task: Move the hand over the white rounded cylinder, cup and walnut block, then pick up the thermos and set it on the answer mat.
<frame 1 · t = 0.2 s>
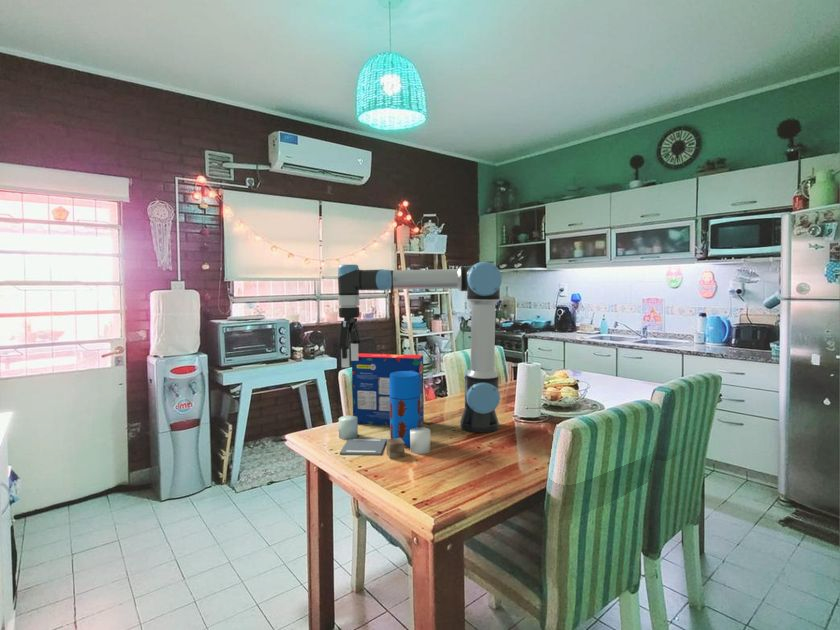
hand: (350, 363, 169), 28 cm above the table, fingers open, 13 cm apart
answer mat: (364, 447, 160), on the table
walnut block: (395, 455, 153), on the table
thermos: (405, 442, 165), on the table
white rounded cylinder a: (420, 450, 157), on the table
pasta box: (388, 423, 188), on the table
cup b: (348, 436, 172), on the table
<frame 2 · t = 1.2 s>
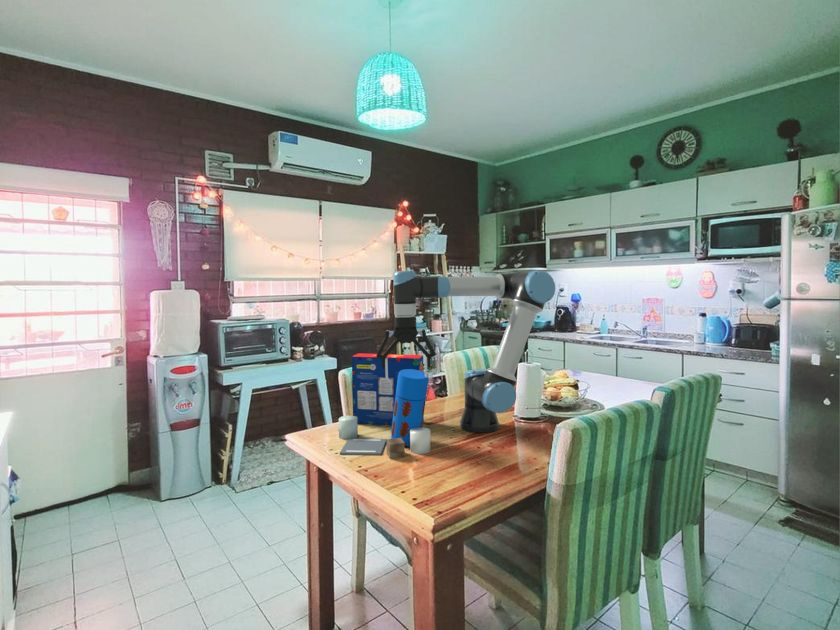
hand: (406, 377, 158), 25 cm above the table, fingers open, 13 cm apart
thermos: (405, 439, 165), point 1 cm above the table, touching white rounded cylinder a, gripper
white rounded cylinder a: (420, 450, 157), on the table, touching thermos
everything else where it was.
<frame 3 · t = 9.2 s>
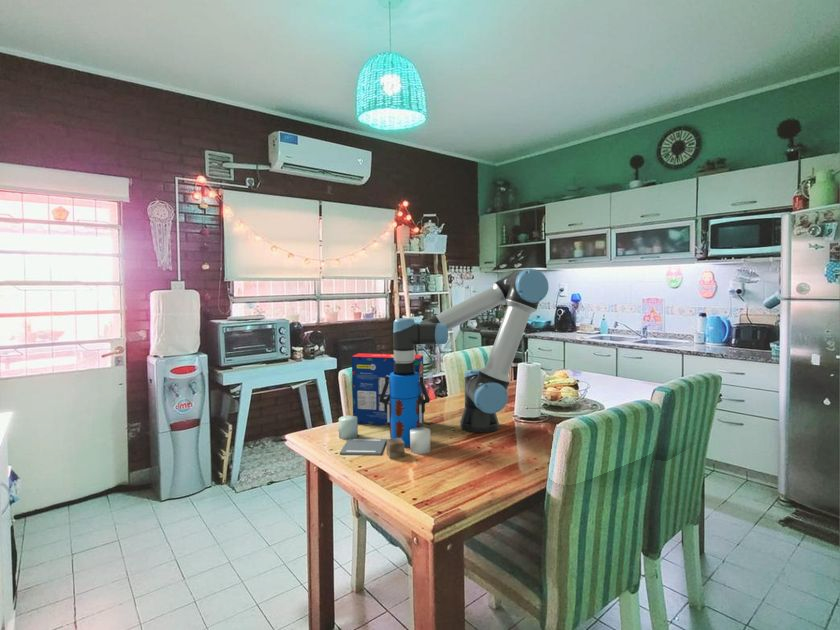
hand: (404, 421, 165), 8 cm above the table, fingers closed on thermos, 11 cm apart
thermos: (405, 441, 166), on the table, touching gripper
white rounded cylinder a: (420, 450, 157), on the table
everything else where it was.
when the fingers open (9 cm above the table, at t = 16.1 s): thermos stays where it is, resting on answer mat.
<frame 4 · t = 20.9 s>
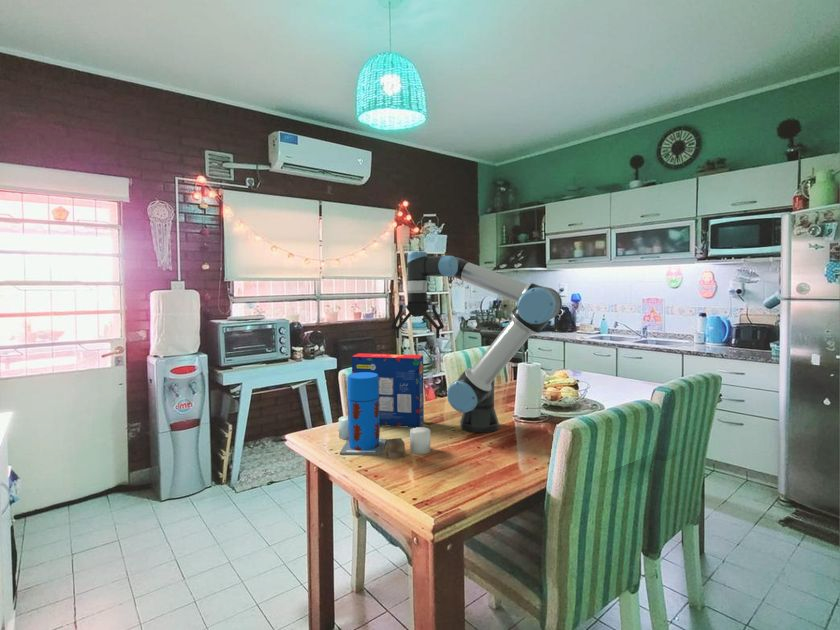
hand: (417, 346, 177), 33 cm above the table, fingers open, 13 cm apart
thermos: (364, 445, 161), resting on answer mat
everything else where it was.
at the end: thermos 0.3 cm from the answer mat (horizontally); thermos tilted 0°; thermos resting on answer mat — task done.
